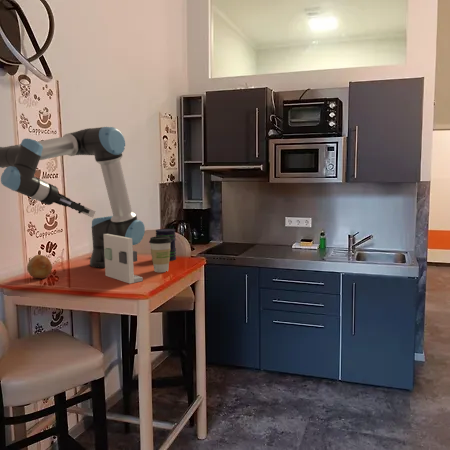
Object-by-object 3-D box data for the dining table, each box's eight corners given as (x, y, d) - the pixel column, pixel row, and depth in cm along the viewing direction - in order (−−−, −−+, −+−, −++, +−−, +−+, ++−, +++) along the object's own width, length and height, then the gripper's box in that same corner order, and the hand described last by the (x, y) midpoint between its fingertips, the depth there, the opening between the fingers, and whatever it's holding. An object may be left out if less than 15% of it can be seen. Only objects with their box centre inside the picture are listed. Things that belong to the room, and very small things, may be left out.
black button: (119, 262, 189) (118, 252, 189) (132, 260, 193) (131, 250, 193) (124, 263, 186) (123, 253, 186) (137, 261, 190) (136, 251, 190)
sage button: (104, 258, 198) (104, 248, 198) (117, 256, 202) (117, 247, 202) (109, 259, 195) (109, 250, 195) (122, 257, 199) (121, 248, 199)
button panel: (105, 275, 201) (103, 234, 199) (117, 273, 205) (116, 232, 203) (129, 283, 187) (127, 238, 184) (142, 280, 191) (140, 237, 188)
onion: (22, 280, 196) (20, 256, 195) (39, 275, 205) (37, 252, 204) (41, 281, 192) (39, 257, 191) (57, 276, 202) (56, 253, 200)
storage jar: (152, 260, 233) (151, 230, 231) (162, 257, 242) (161, 228, 240) (170, 261, 229) (169, 231, 227) (179, 258, 238) (179, 228, 236)
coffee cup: (168, 273, 203) (167, 239, 201) (146, 273, 205) (145, 239, 203) (175, 268, 213) (174, 236, 211) (154, 268, 215) (153, 235, 213)
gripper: (31, 198, 177) (80, 219, 195) (48, 204, 169) (98, 226, 187) (39, 180, 178) (88, 202, 196) (56, 186, 170) (106, 209, 188)
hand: (93, 214), depth 191 cm, fingers closed
